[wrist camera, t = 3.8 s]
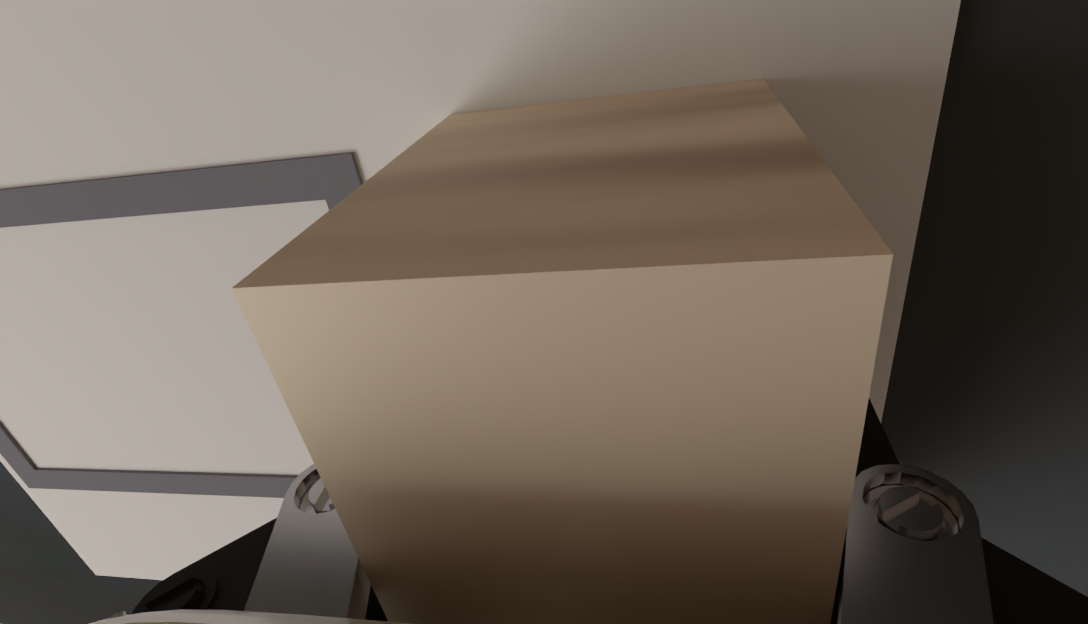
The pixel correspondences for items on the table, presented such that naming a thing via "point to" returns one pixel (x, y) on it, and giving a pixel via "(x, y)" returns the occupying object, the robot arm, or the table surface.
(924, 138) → the mat
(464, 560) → the block
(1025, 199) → the table surface
